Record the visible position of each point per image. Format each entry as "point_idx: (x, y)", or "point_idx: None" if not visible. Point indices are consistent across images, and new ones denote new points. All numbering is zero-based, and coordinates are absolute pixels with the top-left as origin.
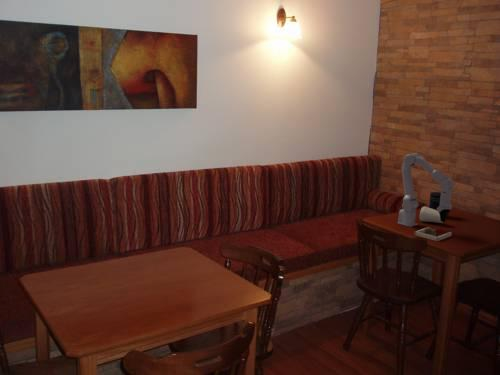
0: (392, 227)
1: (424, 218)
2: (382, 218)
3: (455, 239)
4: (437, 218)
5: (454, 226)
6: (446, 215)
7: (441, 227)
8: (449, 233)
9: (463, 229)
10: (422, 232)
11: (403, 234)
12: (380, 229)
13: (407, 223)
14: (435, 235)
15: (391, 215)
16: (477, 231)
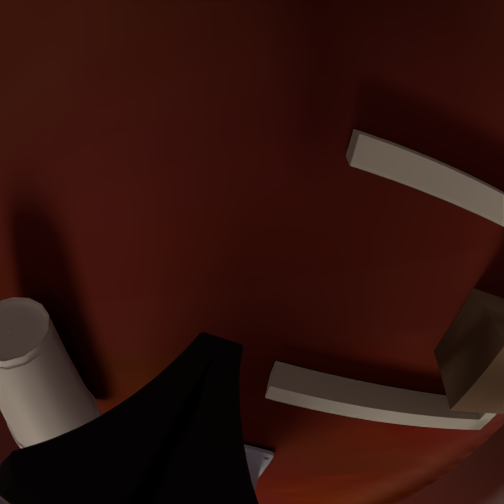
0: (346, 488)
1: (93, 414)
2: None
3: (478, 69)
4: (50, 363)
5: (6, 201)
6: (163, 438)
7: (97, 287)
8: (431, 160)
9: (19, 110)
10: (410, 395)
11: (472, 440)
12: (408, 497)
13: (257, 473)
14: (480, 296)
15: None
16: (11, 7)
